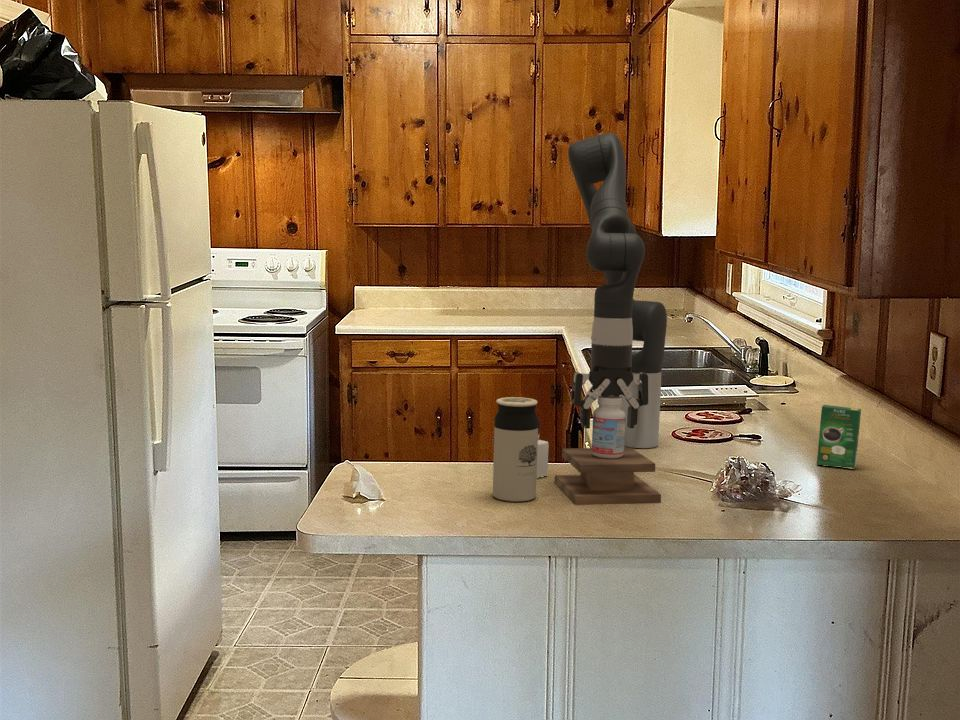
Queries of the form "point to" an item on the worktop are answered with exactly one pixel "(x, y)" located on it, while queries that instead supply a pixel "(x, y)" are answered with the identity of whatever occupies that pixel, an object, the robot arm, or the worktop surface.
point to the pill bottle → (608, 428)
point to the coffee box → (838, 436)
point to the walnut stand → (607, 478)
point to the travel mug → (515, 450)
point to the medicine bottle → (542, 456)
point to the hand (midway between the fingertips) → (608, 427)
